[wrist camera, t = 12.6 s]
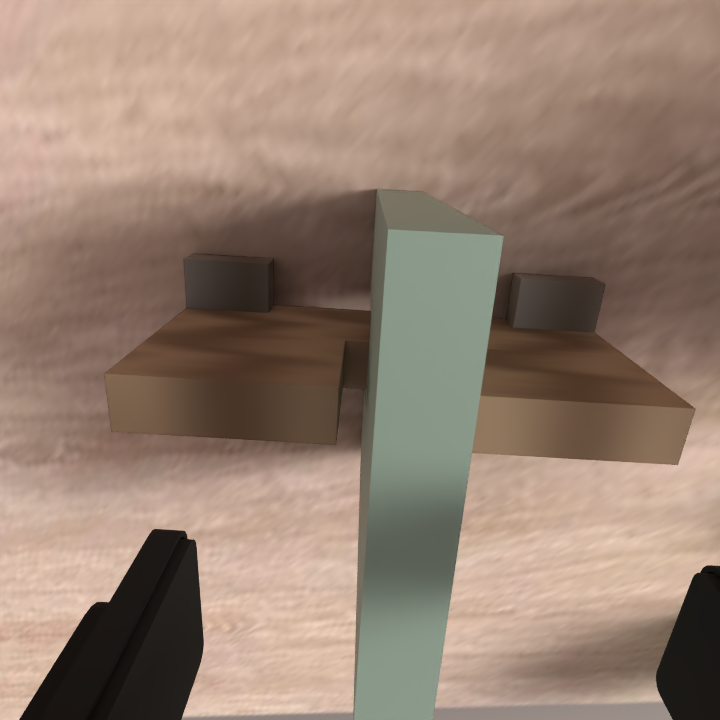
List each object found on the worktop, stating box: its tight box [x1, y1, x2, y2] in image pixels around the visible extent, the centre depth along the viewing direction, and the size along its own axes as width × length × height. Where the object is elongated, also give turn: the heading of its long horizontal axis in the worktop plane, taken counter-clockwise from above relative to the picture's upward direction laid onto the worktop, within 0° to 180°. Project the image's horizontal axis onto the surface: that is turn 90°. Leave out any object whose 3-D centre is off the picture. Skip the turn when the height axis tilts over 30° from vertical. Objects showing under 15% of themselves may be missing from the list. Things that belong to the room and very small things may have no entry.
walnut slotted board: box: [104, 254, 695, 465], centre depth 23 cm, size 20×7×10 cm, turn 87°
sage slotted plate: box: [353, 189, 504, 720], centre depth 20 cm, size 2×14×16 cm, turn 177°
